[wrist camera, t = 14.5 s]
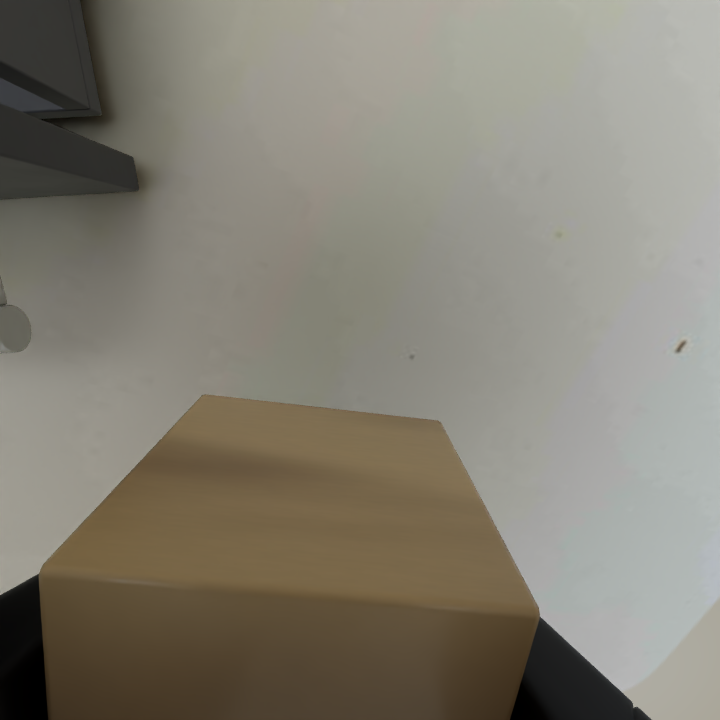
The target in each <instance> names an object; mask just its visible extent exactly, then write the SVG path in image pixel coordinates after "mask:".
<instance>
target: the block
mask: <svg viewBox="0 0 720 720" xmlns="http://www.w3.org/2000/svg"><path fill="white" fill-rule="evenodd" d="M39 591H40V606H41V621H42V636H43V650H44V665H45V680H46V695H47V710H48V720H510V718H511V714H512V711H513V708H514V704H515V701H516V697H517V694H518V690H519V687H520V684H521V680H522V677H523V673H524V670H525V667H526V663H527V660H528V656H529V653H530V650H531V646H532V643H533V639H534V636H535V633H536V629H537V626H538V622H539V619H540V613H539V607H538V605H537V604H536V602H535V600H534V598H533V596H532V594H531V592H530V590H529V588H528V586H527V585H526V583H525V581H524V579H523V577H522V575H521V573H520V571H519V569H518V568H517V566H516V564H515V562H514V560H513V558H512V556H511V554H510V552H509V550H508V549H507V547H506V545H505V543H504V541H503V539H502V537H501V535H500V533H499V532H498V530H497V528H496V526H495V524H494V522H493V520H492V518H491V516H490V514H489V513H488V511H487V509H486V507H485V505H484V503H483V501H482V499H481V497H480V496H479V494H478V492H477V490H476V488H475V486H474V484H473V482H472V480H471V479H470V477H469V475H468V473H467V471H466V469H465V467H464V465H463V463H462V461H461V460H460V458H459V456H458V454H457V452H456V450H455V448H454V446H453V444H452V443H451V441H450V439H449V437H448V435H447V433H446V431H445V429H444V427H443V425H442V424H441V422H439V421H437V420H428V419H419V418H410V417H401V416H392V415H383V414H375V413H366V412H357V411H348V410H339V409H330V408H321V407H312V406H304V405H295V404H286V403H277V402H268V401H259V400H250V399H242V398H233V397H224V396H215V395H206V394H205V395H202V396H201V397H200V398H199V399H198V400H197V401H196V402H195V403H194V405H193V406H192V407H191V408H190V409H189V410H188V411H187V412H186V413H185V414H184V415H183V416H182V417H181V418H180V419H179V420H178V422H177V423H176V424H175V425H174V426H173V427H172V428H171V429H170V430H169V431H168V432H167V433H166V434H165V435H164V436H163V437H162V439H161V440H160V441H159V442H158V443H157V444H156V445H155V446H154V447H153V448H152V449H151V450H150V451H149V452H148V453H147V455H146V456H145V457H144V458H143V459H142V460H141V461H140V462H139V463H138V464H137V465H136V466H135V467H134V468H133V469H132V470H131V472H130V473H129V474H128V475H127V476H126V477H125V478H124V479H123V480H122V481H121V482H120V483H119V484H118V485H117V486H116V487H115V489H114V490H113V491H112V492H111V493H110V494H109V495H108V496H107V497H106V498H105V499H104V500H103V501H102V502H101V503H100V505H99V506H98V507H97V508H96V509H95V510H94V511H93V512H92V513H91V514H90V515H89V516H88V517H87V518H86V519H85V520H84V522H83V523H82V524H81V525H80V526H79V527H78V528H77V529H76V530H75V531H74V532H73V533H72V534H71V535H70V536H69V537H68V539H67V540H66V541H65V542H64V543H63V544H62V545H61V546H60V547H59V548H58V549H57V550H56V551H55V552H54V553H53V555H52V556H51V557H50V558H49V559H48V560H47V561H46V562H45V563H44V564H43V566H42V568H41V570H40V573H39Z"/></svg>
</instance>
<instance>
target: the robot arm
mask: <svg viewBox="0 0 720 720" xmlns="http://www.w3.org/2000/svg"><path fill="white" fill-rule="evenodd" d="M0 720H48V710H47V695H46V680H45V665H44V650H43V636H42V621H41V606H40V591H39V574H38V575H36V576H34V577H32V578H31V579H29V580H27V581H25V582H23V583H22V584H20V585H18V586H16V587H14V588H13V589H11V590H9V591H7V592H5V593H4V594H2V595H0ZM510 720H651V719H650V718H649V717H648V716H647V715H646V714H645V713H644V712H643V711H642V710H641V709H639V708H638V707H634V708H633V703H632V702H631V700H629V699H628V698H627V697H626V696H625V695H624V694H623V693H622V692H621V691H620V690H619V689H618V688H617V687H615V686H614V685H613V684H612V683H611V682H610V681H609V680H608V679H607V678H606V677H605V676H604V675H602V674H601V673H600V672H599V671H598V670H597V669H596V668H595V667H594V666H593V665H592V664H591V663H590V662H588V661H587V660H586V659H585V658H584V657H583V656H582V655H581V654H580V653H579V652H578V651H577V650H575V649H574V648H573V647H572V646H571V645H570V644H569V643H568V642H567V641H566V640H565V639H564V638H563V637H561V636H560V635H559V634H558V633H557V632H556V631H555V630H554V629H553V628H552V627H551V626H550V625H548V624H547V623H546V622H545V621H544V620H543V619H542V618H541V617H540V619H539V622H538V626H537V629H536V633H535V636H534V639H533V643H532V646H531V650H530V653H529V656H528V660H527V663H526V667H525V670H524V673H523V677H522V680H521V684H520V687H519V690H518V694H517V697H516V701H515V704H514V708H513V711H512V714H511V718H510Z"/></svg>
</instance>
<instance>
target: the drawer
mask: <svg viewBox="0 0 720 720" xmlns="http://www.w3.org/2000/svg"><path fill="white" fill-rule="evenodd" d="M101 114H102V113H101V108H100V103H99V97H98V92H97V87H96V82H95V77H94V71H93V66H92V61H91V56H90V51H89V45H88V40H87V35H86V30H85V25H84V19H83V14H82V9H81V4H80V0H0V199H13V198H30V197H47V196H64V195H81V194H98V193H115V192H132V191H138V190H139V186H138V180H137V175H136V169H135V164H134V158H133V157H132V156H129V155H127V154H124V153H122V152H119V151H117V150H114V149H112V148H110V147H107V146H105V145H102V144H100V143H97V142H95V141H92V140H90V139H88V138H85V137H83V136H80V135H78V134H75V133H73V132H70V131H68V130H66V129H63V128H61V127H58V126H56V125H53V124H51V123H48V122H46V121H43V120H41V119H46V118H64V117H82V116H100V115H101ZM6 304H7V299H6V295H5V291H4V288H3V284H2V280H1V277H0V353H13V352H20V351H22V350H24V349H25V348H26V347H27V346H28V344H29V342H30V339H31V325H30V322H29V319H28V317H27V316H26V314H25V313H24V312H23V311H22V310H21V309H20V308H18V307H16V306H12V305H6ZM1 305H4V306H1Z"/></svg>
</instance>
